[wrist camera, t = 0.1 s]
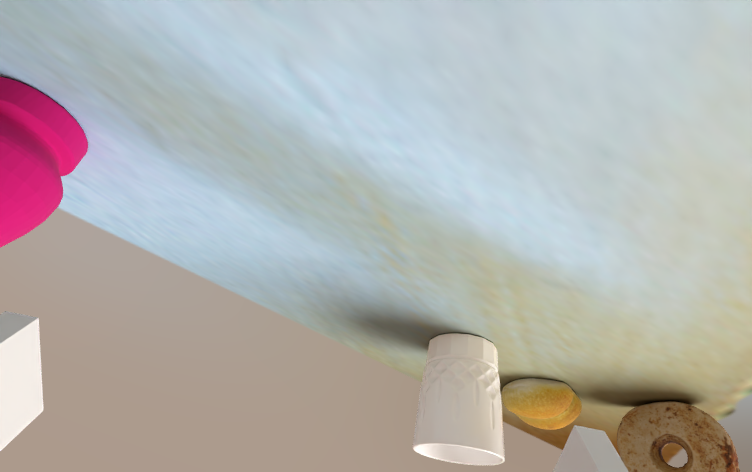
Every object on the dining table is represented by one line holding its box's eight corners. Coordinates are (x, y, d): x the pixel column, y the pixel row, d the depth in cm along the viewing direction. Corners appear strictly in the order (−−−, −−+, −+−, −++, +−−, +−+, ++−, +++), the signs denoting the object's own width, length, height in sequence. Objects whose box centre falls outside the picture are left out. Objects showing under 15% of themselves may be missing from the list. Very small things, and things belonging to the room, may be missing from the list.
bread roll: (561, 372, 46) (565, 411, 44) (587, 399, 51) (591, 435, 49) (488, 377, 51) (487, 413, 48) (518, 402, 56) (519, 435, 54)
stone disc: (718, 395, 44) (752, 511, 38) (723, 406, 46) (756, 517, 40) (606, 399, 50) (621, 500, 44) (615, 409, 52) (630, 507, 46)
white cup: (413, 350, 47) (402, 452, 41) (438, 322, 40) (429, 438, 35) (482, 366, 48) (481, 468, 42) (517, 342, 41) (521, 458, 35)
